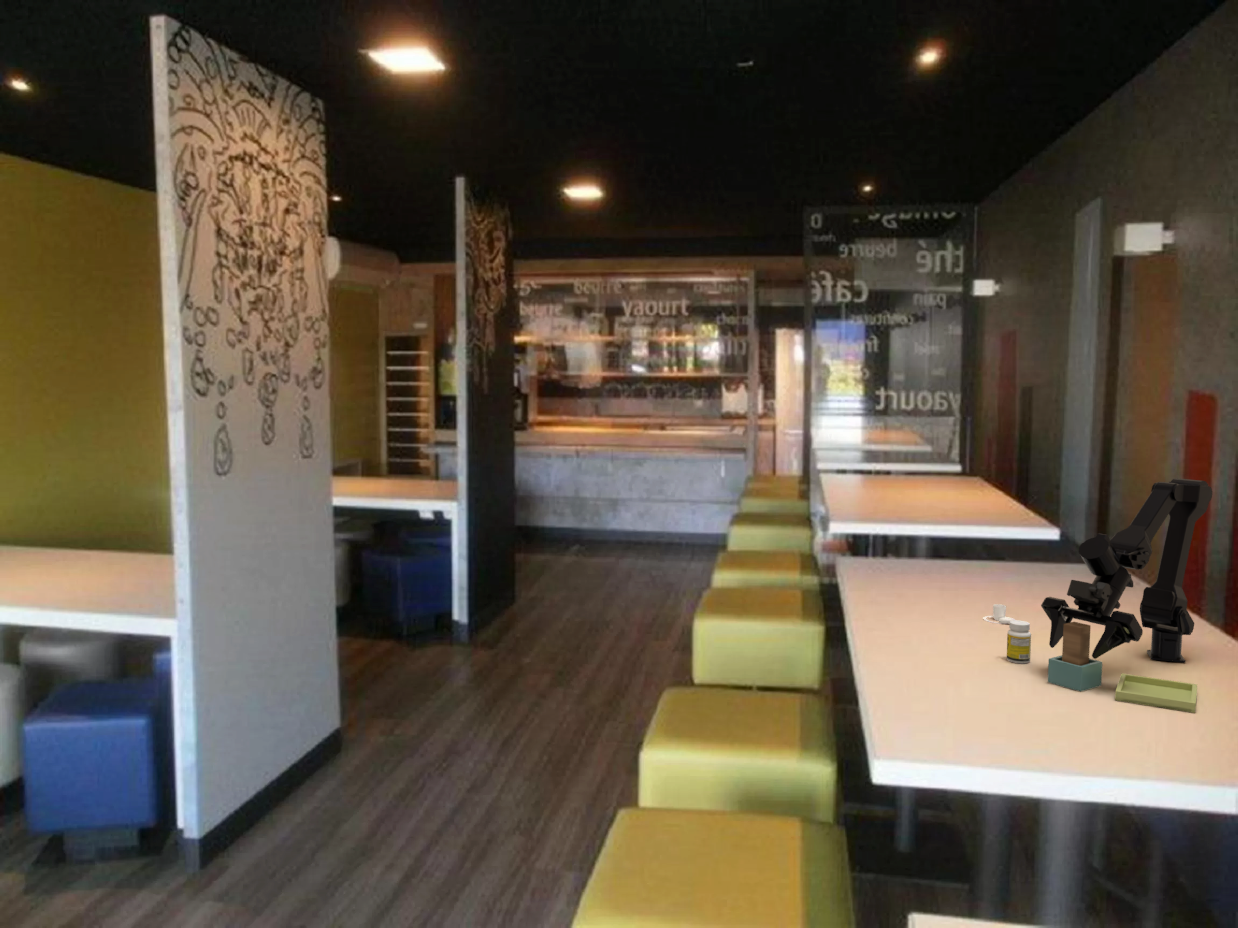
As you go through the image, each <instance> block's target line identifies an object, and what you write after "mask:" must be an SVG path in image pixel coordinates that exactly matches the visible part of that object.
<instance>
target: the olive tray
mask: <svg viewBox="0 0 1238 928" xmlns="http://www.w3.org/2000/svg"><path fill="white" fill-rule="evenodd" d="M1114 694H1115V696H1114V701H1115V702H1116V701H1117V702H1123V703H1130V704H1136V705H1142V706H1149V707H1154V708H1161V709H1165V710H1173V711H1179V712H1185V713H1186V712H1187V713H1191V714H1193V713H1194V714H1195V713H1196V706H1197V694H1198V684H1197V683H1191V682H1183V681H1178V680H1177V681H1175V680H1171V679H1170V680H1169V679H1164V678H1163V679H1162V678H1156V677H1148V676H1142V675H1135V674H1128V673H1121V675H1120V677H1119V680H1118V683H1117V686H1116V688H1115V693H1114Z"/></svg>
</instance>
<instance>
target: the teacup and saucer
mask: <svg viewBox="0 0 1238 928" xmlns="http://www.w3.org/2000/svg"><path fill="white" fill-rule="evenodd" d="M1006 613H1007V606H1006V605H1005V604H1001V603H998V604H996V603H995V604H992V614H993V615H986V616H983V617H982V620H983V619H984V620H983V621H985V622H987V623H992V624H999V625H1001V624H1002V625H1010V621H1013V620H1016V619H1015V618H1013V617H1008V616H1006ZM987 617H989V618H993V619H994V620H993V621H992V620H989V619H988V618H987ZM986 618H987V619H986Z"/></svg>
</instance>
